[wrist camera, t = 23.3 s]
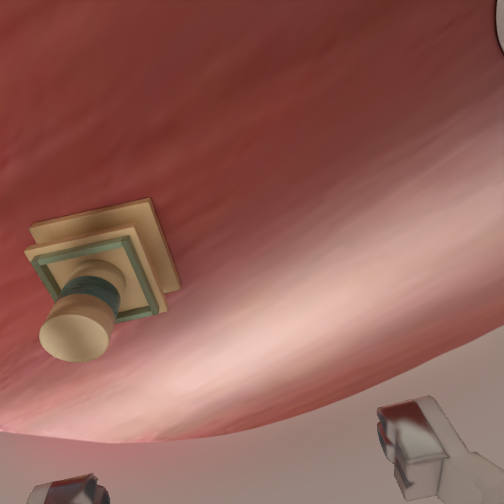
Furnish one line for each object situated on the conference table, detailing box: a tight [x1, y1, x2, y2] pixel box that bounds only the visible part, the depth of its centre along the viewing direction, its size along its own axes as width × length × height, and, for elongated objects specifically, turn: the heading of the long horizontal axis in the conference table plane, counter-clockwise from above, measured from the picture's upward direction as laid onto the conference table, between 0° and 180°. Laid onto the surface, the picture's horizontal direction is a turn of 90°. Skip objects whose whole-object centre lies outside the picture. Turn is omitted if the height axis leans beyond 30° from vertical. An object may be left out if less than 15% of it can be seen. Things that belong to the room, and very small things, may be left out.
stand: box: [24, 198, 181, 324], centre depth 37 cm, size 12×11×6 cm
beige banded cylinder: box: [39, 260, 126, 363], centre depth 31 cm, size 5×5×8 cm
